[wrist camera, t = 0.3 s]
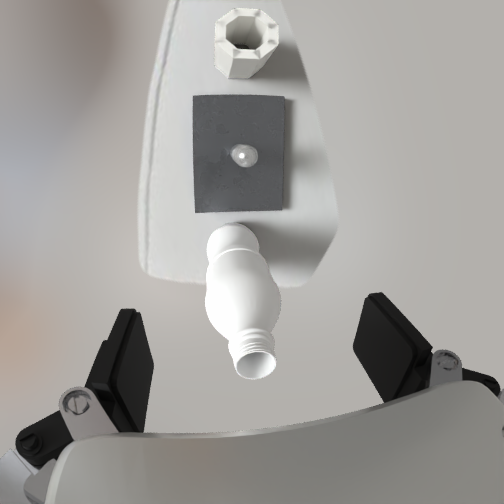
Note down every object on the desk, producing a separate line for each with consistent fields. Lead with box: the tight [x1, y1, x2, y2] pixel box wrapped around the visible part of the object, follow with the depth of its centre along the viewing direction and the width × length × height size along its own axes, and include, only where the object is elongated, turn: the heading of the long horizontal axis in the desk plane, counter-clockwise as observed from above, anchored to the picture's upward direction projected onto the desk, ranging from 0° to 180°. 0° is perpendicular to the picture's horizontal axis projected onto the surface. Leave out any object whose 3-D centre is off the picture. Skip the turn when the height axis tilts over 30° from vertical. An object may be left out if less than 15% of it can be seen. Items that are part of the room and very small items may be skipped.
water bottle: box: [205, 223, 281, 379], centre depth 30 cm, size 7×7×25 cm
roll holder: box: [193, 95, 284, 213], centre depth 32 cm, size 16×12×11 cm
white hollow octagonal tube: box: [214, 8, 278, 79], centre depth 27 cm, size 7×7×10 cm
